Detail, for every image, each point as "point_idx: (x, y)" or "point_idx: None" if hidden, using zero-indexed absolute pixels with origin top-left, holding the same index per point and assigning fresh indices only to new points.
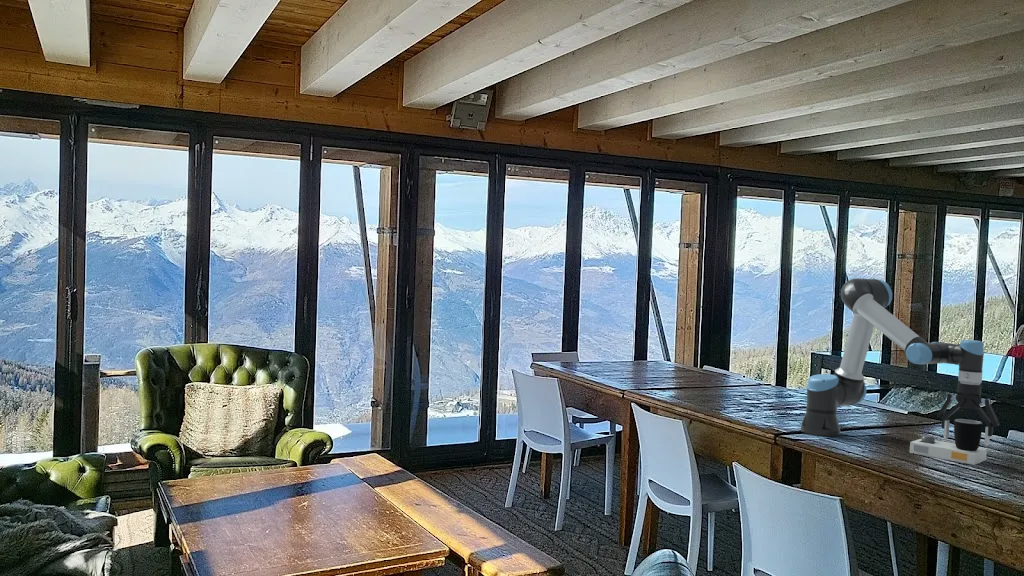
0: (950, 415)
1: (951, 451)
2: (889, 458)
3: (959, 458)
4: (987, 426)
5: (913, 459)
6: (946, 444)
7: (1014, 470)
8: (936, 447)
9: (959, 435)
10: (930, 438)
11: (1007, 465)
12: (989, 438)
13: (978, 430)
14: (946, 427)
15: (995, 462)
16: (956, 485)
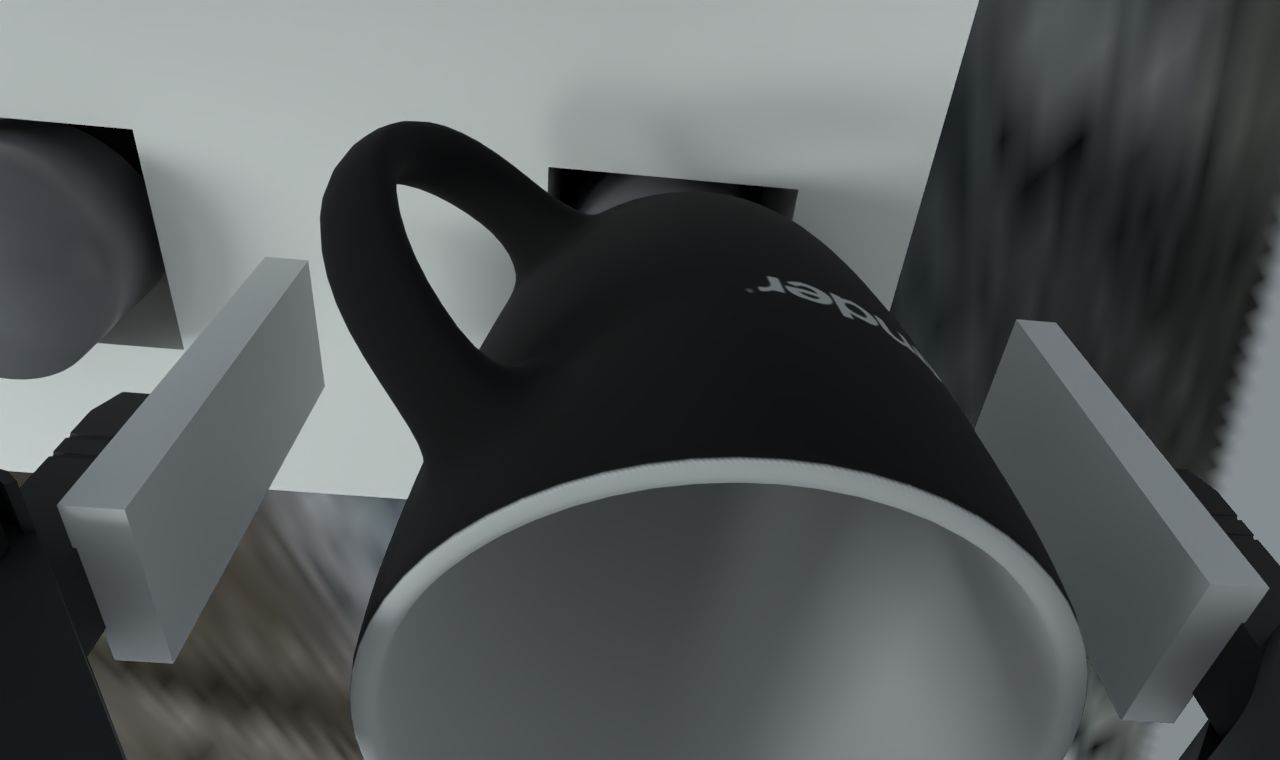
0: (109, 719)
1: None
2: (145, 727)
3: None
4: (1188, 621)
5: (278, 630)
6: (320, 195)
7: (1238, 363)
8: (329, 485)
9: (597, 634)
10: (80, 357)
11: (1208, 118)
12: (1109, 392)
13: (938, 689)
14: (242, 534)
15: (1056, 35)
16: None
